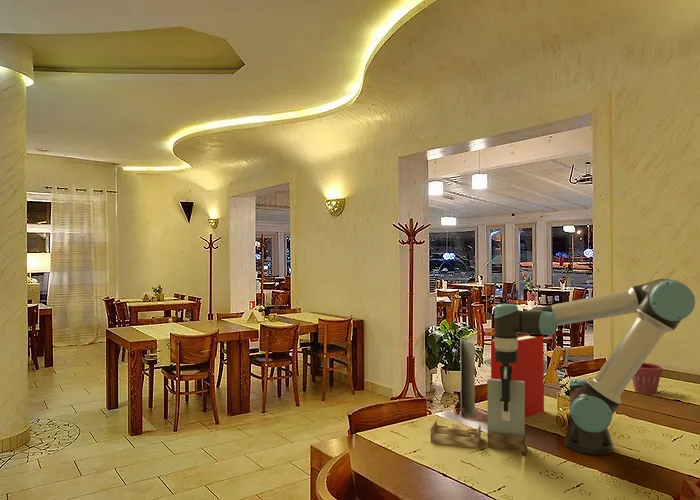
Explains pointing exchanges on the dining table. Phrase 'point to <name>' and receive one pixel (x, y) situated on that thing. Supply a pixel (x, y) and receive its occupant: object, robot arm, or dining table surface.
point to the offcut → (458, 430)
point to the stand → (507, 442)
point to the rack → (441, 436)
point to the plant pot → (647, 378)
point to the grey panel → (516, 408)
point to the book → (526, 371)
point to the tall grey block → (467, 376)
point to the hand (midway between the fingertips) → (506, 419)
